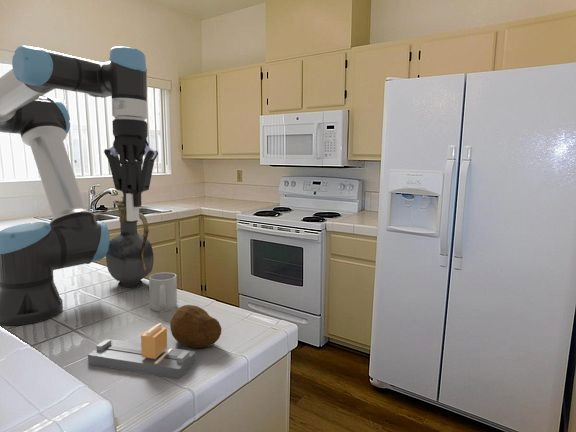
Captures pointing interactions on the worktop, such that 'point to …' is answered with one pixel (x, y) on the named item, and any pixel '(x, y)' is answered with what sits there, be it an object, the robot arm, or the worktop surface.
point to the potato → (194, 327)
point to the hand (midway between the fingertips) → (133, 220)
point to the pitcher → (129, 252)
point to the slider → (154, 342)
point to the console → (141, 359)
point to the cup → (163, 291)
